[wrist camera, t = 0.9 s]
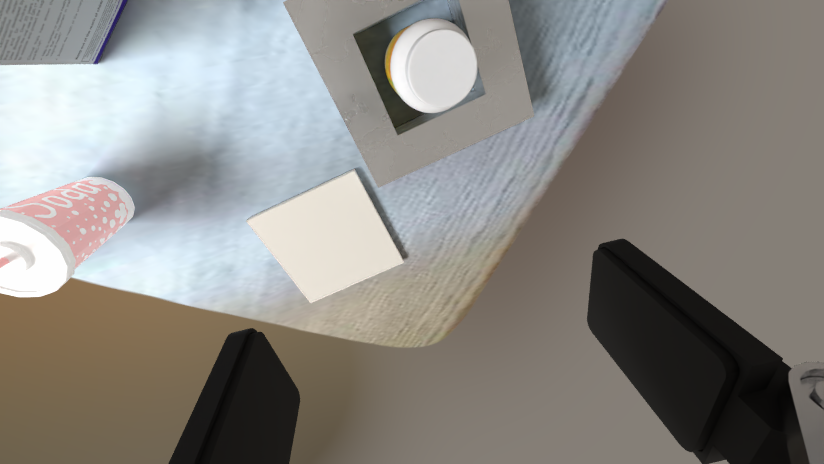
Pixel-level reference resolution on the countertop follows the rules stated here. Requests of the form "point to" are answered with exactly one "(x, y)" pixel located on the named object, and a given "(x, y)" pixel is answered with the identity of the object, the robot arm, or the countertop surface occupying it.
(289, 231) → the plastic mat
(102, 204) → the beverage cup
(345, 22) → the concrete holder
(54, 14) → the supplement box
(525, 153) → the countertop surface
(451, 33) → the supplement bottle
